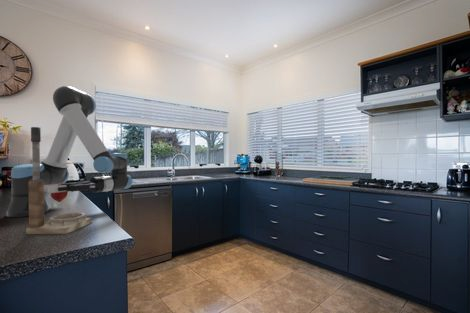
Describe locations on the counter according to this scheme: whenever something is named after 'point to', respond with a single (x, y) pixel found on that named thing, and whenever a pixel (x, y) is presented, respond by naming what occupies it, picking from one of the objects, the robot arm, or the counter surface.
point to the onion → (59, 195)
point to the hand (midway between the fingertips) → (45, 189)
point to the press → (36, 201)
